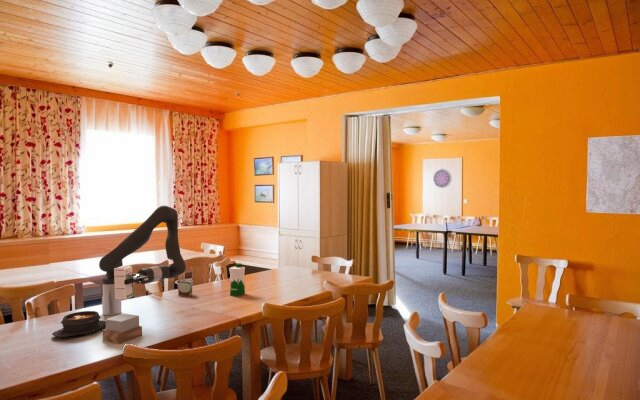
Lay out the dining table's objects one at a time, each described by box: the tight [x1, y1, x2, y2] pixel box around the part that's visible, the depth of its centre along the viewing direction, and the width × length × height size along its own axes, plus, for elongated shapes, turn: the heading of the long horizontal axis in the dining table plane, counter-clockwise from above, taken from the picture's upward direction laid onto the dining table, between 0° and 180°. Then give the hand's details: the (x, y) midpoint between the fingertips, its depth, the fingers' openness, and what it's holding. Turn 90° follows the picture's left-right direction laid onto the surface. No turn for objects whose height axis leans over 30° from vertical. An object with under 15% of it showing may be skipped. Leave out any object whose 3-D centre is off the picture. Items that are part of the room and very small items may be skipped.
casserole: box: [51, 310, 106, 338], centre depth 205 cm, size 25×19×8 cm
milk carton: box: [228, 262, 246, 297], centre depth 276 cm, size 9×9×20 cm
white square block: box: [105, 313, 140, 333], centre depth 196 cm, size 10×10×5 cm
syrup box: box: [114, 265, 135, 300], centre depth 196 cm, size 6×6×14 cm
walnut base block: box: [102, 325, 143, 345], centre depth 196 cm, size 12×12×5 cm
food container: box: [176, 278, 195, 298], centre depth 277 cm, size 12×6×10 cm, turn 65°
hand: (119, 281), depth 194 cm, fingers closed on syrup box, 7 cm apart
